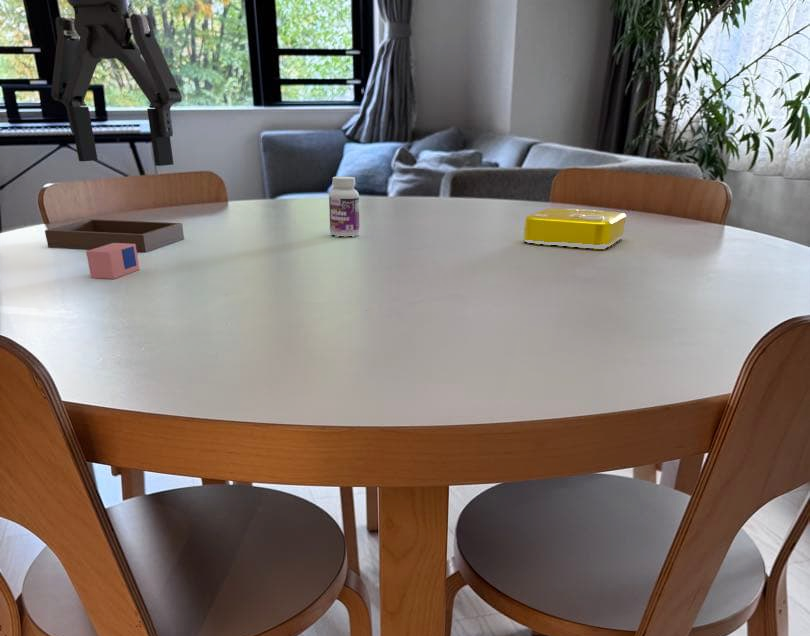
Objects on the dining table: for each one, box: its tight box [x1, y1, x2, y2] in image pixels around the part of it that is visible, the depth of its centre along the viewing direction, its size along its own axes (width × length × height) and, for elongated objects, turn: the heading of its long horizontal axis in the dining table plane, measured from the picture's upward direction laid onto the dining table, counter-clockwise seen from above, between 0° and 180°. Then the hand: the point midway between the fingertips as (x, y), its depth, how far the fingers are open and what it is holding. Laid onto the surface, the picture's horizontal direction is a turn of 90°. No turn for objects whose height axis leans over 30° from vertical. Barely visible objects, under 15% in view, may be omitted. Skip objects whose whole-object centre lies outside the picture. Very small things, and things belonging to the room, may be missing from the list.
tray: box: [44, 218, 185, 253], centre depth 128 cm, size 18×14×3 cm
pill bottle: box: [328, 175, 360, 238], centre depth 135 cm, size 5×5×10 cm
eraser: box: [85, 243, 140, 280], centre depth 106 cm, size 7×4×4 cm, turn 168°
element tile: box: [523, 207, 627, 251], centre depth 133 cm, size 15×15×5 cm
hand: (125, 163), depth 102 cm, fingers open, 13 cm apart
